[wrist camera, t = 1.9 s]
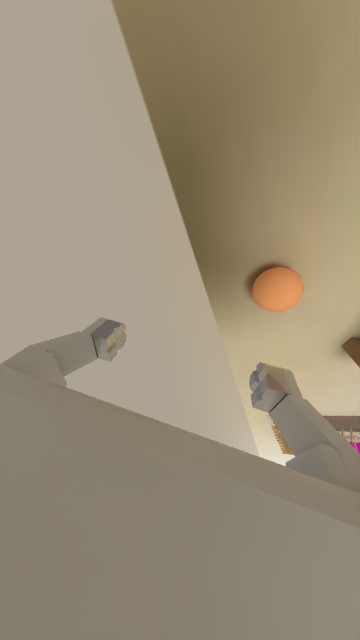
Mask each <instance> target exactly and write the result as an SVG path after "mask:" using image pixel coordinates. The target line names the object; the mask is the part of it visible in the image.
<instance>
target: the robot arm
mask: <svg viewBox="0 0 360 640" xmlns="http://www.w3.org/2000/svg"><path fill="white" fill-rule="evenodd" d="M124 330H125V325H124V324H122V323H119V322H116V321H113V320H108V319H106V318H99V319H98V320H97V321H95V322H94V323H92V324H91V325H90V326H89V327H87V328H86V329H85V330H83V331H82V332H75V333H72V334H68V335H65V336H62V337H58V338H54V339H51V340H48V341H44V342H41V343H37V344H34V345H30V346H28V347H27V348H25V349H23V350H22V351H20V352H19V353H17V354H16V355H14V356H12V357H11V358H9V359H8V360H6V361H4V362H3V363H1V364H0V640H360V453H359V452H358V451H357V450H356V449H355V448H354V447H353V446H352V445H351V444H350V443H349V442H348V441H347V440H346V439H345V438H344V437H343V436H342V435H341V434H340V433H339V432H338V431H337V430H336V429H335V428H334V427H333V426H332V425H331V424H330V423H329V422H328V421H327V420H326V419H325V418H324V417H323V416H322V415H321V414H320V413H319V412H318V411H317V410H316V409H315V408H314V407H313V406H312V405H311V404H310V403H309V402H308V401H307V400H305V399H303V397H302V395H301V392H300V390H299V388H298V385H297V383H296V380H295V378H294V376H293V373H292V372H291V371H290V370H288V369H284V368H280V367H276V366H272V365H269V364H265V363H261V362H260V363H258V365H257V366H256V367H257V370H256V371H253V372H252V374H251V376H250V382H249V384H250V389H251V390H252V391H253V393H252V394H251V400H252V407H254V408H256V409H259V410H262V411H265V412H268V413H269V415H270V416H271V418H272V420H273V421H274V423H275V424H276V426H277V428H278V429H279V431H280V433H281V434H282V436H283V437H284V439H285V441H286V442H287V444H288V446H289V447H290V449H291V450H292V452H293V454H294V455H295V457H294V458H293V459H291V460H289V461H287V462H286V466H283V465H280V464H278V463H275V462H272V461H269V460H266V459H264V458H261V457H258V456H255V455H252V454H250V453H247V452H244V451H241V450H239V449H236V448H233V447H230V446H227V445H225V444H222V443H219V442H217V441H214V440H211V439H208V438H205V437H203V436H200V435H197V434H194V433H191V432H189V431H186V430H183V429H180V428H178V427H175V426H172V425H169V424H167V423H164V422H161V421H158V420H155V419H153V418H150V417H147V416H144V415H142V414H139V413H136V412H133V411H130V410H128V409H125V408H122V407H119V406H116V405H114V404H111V403H108V402H105V401H102V400H100V399H97V398H94V397H92V396H88V395H86V394H83V393H80V392H77V391H75V390H72V389H69V388H66V385H67V382H66V380H65V378H64V376H66V375H68V374H69V373H71V372H73V371H75V370H77V369H79V368H81V367H83V366H84V365H87V364H88V363H90V362H92V361H94V360H96V359H97V358H100V359H103V360H107V361H111V360H112V359H113V358H114V357H115V356H116V354H117V350H119V349H121V348H122V347H123V345H124V344H125V342H126V334H125V333H124Z"/></svg>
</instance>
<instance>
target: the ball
mask: <svg viewBox="0 0 360 640" xmlns="http://www.w3.org/2000/svg"><path fill="white" fill-rule="evenodd" d="M303 291H304V284H303V280H302V278H301V277H300V275H299V274H298V273H297V272H295V271H294V270H292V269H290V268H286V267H276V268H271V269H269V270H267V271H265V272H263V273H262V274H261V275H260V276H259V277H258V278H257V279H256V280H255V282H254V285H253V288H252V295H253V298H254V301H255V302H256V303H257V305H258V306H260V307H261V308H263V309H265V310H268V311H273V312H278V311H283V310H286V309H289V308H291V307H292V306H294V305H295V304H296V303H297V302H298V301H299V300H300V298H301V296H302V294H303Z"/></svg>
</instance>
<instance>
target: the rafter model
mask: <svg viewBox="0 0 360 640" xmlns="http://www.w3.org/2000/svg"><path fill="white" fill-rule="evenodd" d="M323 417H324V418H325V419H326V420H327V421H328V422H329V423H330V424H331V425H332V426H333V427H334V428H335V429H336V430H337V431H342V436H343V437H344V438H345V436H344V432H343V431H346V432H351V442H349V443H350V444H351V445H352V446H353V447H354V448H355V449H356V450H357V451H358V452H359V453H360V443H355V440H354V442H353V443H352V441H353V440H352V438H353V439H354V436H353V432H360V416H323ZM275 428H276V429H275ZM272 429H273V430H275V431H274V433H276V432H278V433H277V434H275V436H277V435H278V434H279V436H278V437H276V438H277V439H279V438H281V439H279V440H277V441H278V442H280V441H282V442H281V443H279V444H280V445H282V444H283V445H282V446H283V447H282V446H280V447H282V448H281V449H282V452H283V454H291V455H294V454H293V452H292V450H291V449H290V447H289V446H288V444H287V442H286V441H285V439H284V437H283V436H282V434H281V433H280V431H279V429H278V428H277V426H276V427H273V426H272ZM276 430H277V431H276ZM352 436H353V437H352ZM284 449H285V450H284ZM284 451H285V452H284ZM287 452H288V453H287Z"/></svg>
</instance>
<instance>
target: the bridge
mask: <svg viewBox="0 0 360 640" xmlns="http://www.w3.org/2000/svg"><path fill="white" fill-rule="evenodd" d="M342 348H343V349H344V350H345V351H346V352H347V353H348V354H349V356H350V357H351V358H352V359H353V360H354V361H355V363H356V364H357V365H358V366H359V367H360V339H356V338H351V339H349V340H348V341H347V342H346V343H345V344H344V345H343V346H342Z"/></svg>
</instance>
